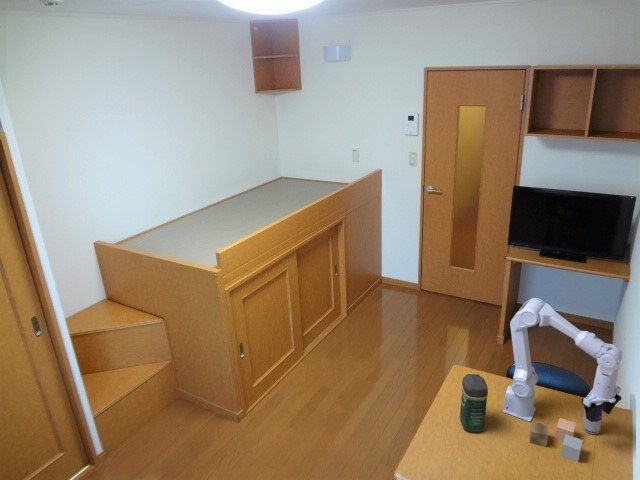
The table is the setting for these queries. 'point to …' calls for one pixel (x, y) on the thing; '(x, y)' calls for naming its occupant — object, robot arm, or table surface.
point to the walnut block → (539, 434)
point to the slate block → (571, 448)
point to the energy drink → (596, 424)
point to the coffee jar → (473, 403)
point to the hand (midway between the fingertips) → (597, 416)
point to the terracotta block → (564, 429)
